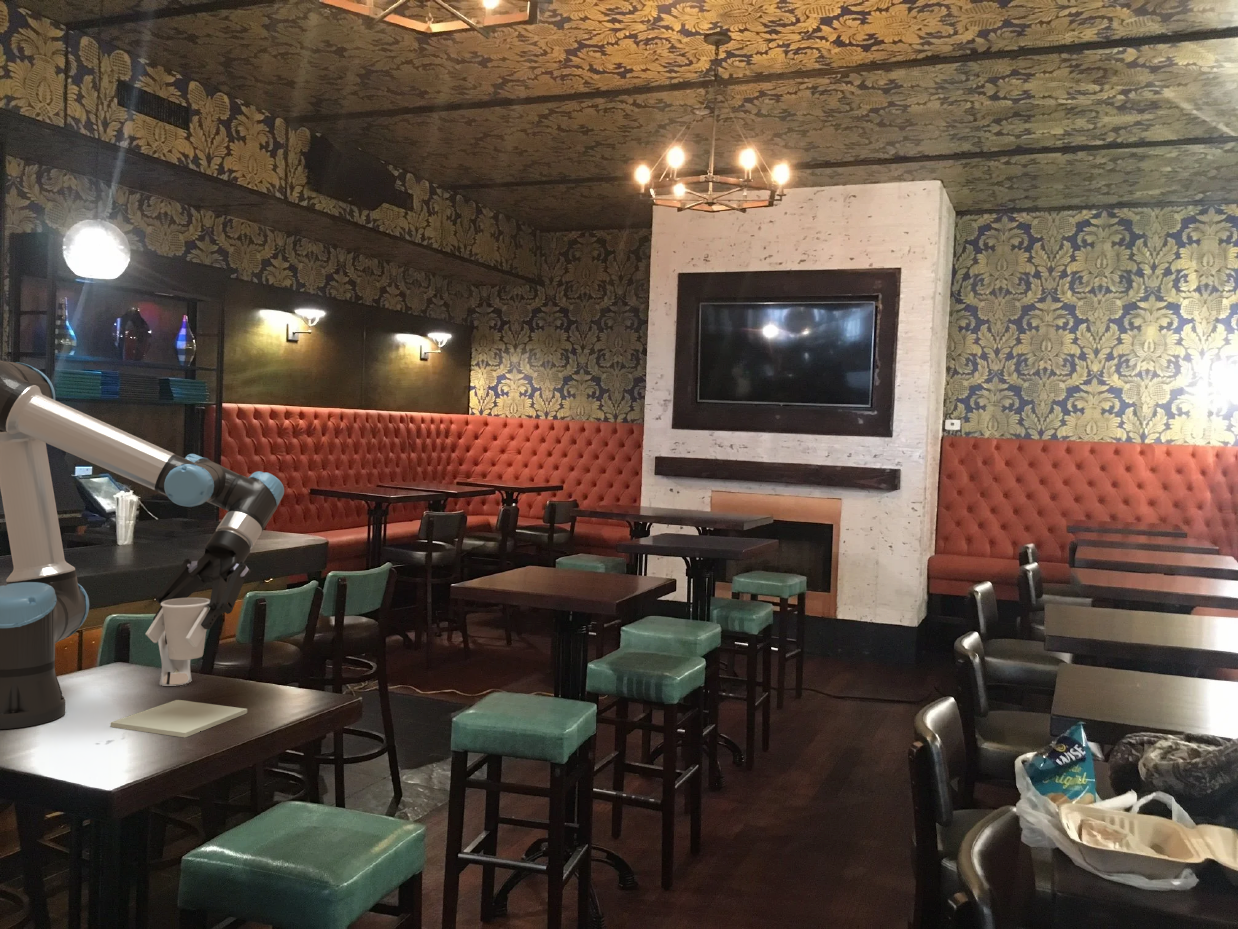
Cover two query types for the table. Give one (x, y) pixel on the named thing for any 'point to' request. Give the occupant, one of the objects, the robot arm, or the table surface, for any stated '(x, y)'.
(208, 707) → the sage mat
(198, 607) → the dixie cup
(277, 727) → the table surface
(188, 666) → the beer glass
